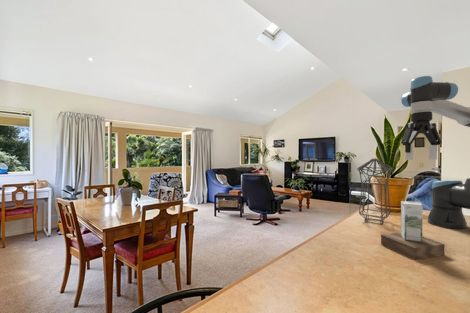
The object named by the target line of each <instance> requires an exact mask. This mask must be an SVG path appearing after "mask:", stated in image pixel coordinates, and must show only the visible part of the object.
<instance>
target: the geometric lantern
mask: <svg viewBox="0 0 470 313" xmlns="http://www.w3.org/2000/svg"><path fill="white" fill-rule="evenodd" d="M372 165H373V167H372ZM377 165H378V167H377ZM379 169H380V170H379ZM393 169H394V167H393V166H391V165H389V164H387V163H385V162H383V161H382V160H379V159H378V158H376V157H375V158H371V159H370V160H369V161H366V162H365V163H364V164H362V165H360V166H359V167H357V168H356V170H357V171H358V172H359V177H360V178H359V179H360V183H361V187H360V195H359V197H360V198H359V199H360V200H359V209H358V214H359V215H360V216H361V217H362V218H364V222H365V223H370V224H375V225H383V224H384V221H385V219H387V218H389V216H390V215H391V205H390V190H389V179H390V177H391V174H392V171H393ZM365 171H366V172H365ZM370 172H371V173H372V174H369V173H370ZM385 172H388V175H387V178H385V176H384V175H383V173H385ZM362 175H363V176H364V178H365V180H362ZM366 175H367V177H366ZM379 175H381V176H382V178H383V179H384V180H385V181H382V180H379V179H378V177H377V176H379ZM369 177H370V178H369ZM372 177H374V178H375V180H373V182H378V183H373V185H375V186H376V185H378V186H380V187H379V188H380V191H379V192H380V210H378V209H370V208H369V205H370V185H372V183H371V179H372ZM383 183H384V184H383ZM367 185H368V189H367ZM382 186H383V188H384V190H382ZM367 190H368V191H367ZM366 191H367V192H366ZM383 192H384V194H382V193H383ZM366 193H367V208H365V204H366ZM382 195H384V206H385V207H384V211H383V196H382ZM387 206H388V209H387ZM361 207H362V208H361ZM361 209H362V210H361ZM387 210H388V211H387ZM366 211H367V212H366ZM369 211H373V212H379V213H380V215H374V214H373V215H372V214H369ZM378 218H379V219H378ZM368 220H372V221H377V222H372V221H368Z"/></svg>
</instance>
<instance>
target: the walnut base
mask: <svg viewBox="0 0 470 313" xmlns="http://www.w3.org/2000/svg"><path fill="white" fill-rule="evenodd" d="M380 245H382V246H384V247H385V248H388V249H389V250H393V251H395V252H397V253H399V254H401V255H404V256H406V257H409V258H411V259H412V260H419V259H426V258H433V257H440V256H445V243H442V242H439V241H435V240H433V239H430V238H427V237H424V236H422V242H416V241H408V240H404V239H403V237H402V236H401V232H394V233H384V234H380Z"/></svg>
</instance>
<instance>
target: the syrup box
mask: <svg viewBox="0 0 470 313" xmlns="http://www.w3.org/2000/svg"><path fill="white" fill-rule="evenodd" d="M423 212H424V206H423V204H422V203H421V202H419V201H408V200H401V201H400V233H401V236H402V237H403V239H404V240H408V241H416V242H422V237H423V216H424V214H423Z"/></svg>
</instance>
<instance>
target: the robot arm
mask: <svg viewBox="0 0 470 313" xmlns="http://www.w3.org/2000/svg"><path fill="white" fill-rule="evenodd" d="M409 89H410V91H409V92H405V93H404V94H403V95H402V96H401V98H400V99H401V105H403V107H406V108H410V113H411V114H410V122H407V124H406V129H405V130H404V134H403V136H402V138H401V141H400V144H401V145H402V146H404V153H405V161H414V145H413V143H414V142H415V140H416V138H417V137H418V135H419V134H422V135H424V136H425V138H426V140H427V142H429V144H430V145H428V147H429V149H428V151H429V152H428V153H429V154H428V159H429V160H435V161H436V160H437V159H438V146H441V144H442V140H441V137H440V134H439V132H438V129H437V125H436V124H437V123H435V122H434V123H432V122H431V121H432V120H433V113H434V114H436V115H439V116H442V117H445V118H448V119H451V120H455V121H456V122H457V124H459V125H461V126H465V127H467V128H470V106H468V107H467V106H464V105H461V104H458V103H456V102H452V101H451V100H452V99H454V98H455V97H456V96H457V95H458V93H459V86H458V85H457V84H456V83H454V82H449V81H445V82H442V81H441V82H438V81H437V82H435V81H433V77H432V76H430V75H422V76H418V77H415V78H413V79H412V80H411V81H410V88H409ZM430 122H431V123H430ZM463 209H466V210H470V177H468V178H466V180H465V182H464V183H463V180H434V181H433V182H432V184H431V210H430V212H429V214H428V216H427V223H428V224H430V225H434V226H437V227H441V228H446V229H447V228H448V229H456V230H458V229H461V230H463V229H467V228H468V224H467V223H468V222H467V221H466V218H465V216H464V212H463Z"/></svg>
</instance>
